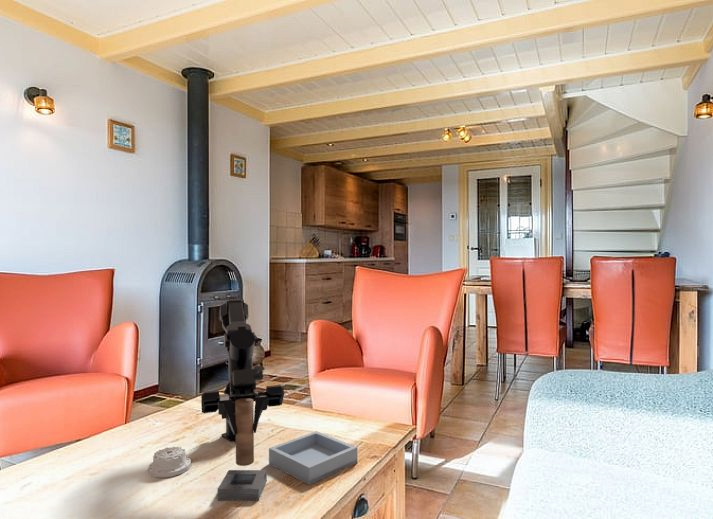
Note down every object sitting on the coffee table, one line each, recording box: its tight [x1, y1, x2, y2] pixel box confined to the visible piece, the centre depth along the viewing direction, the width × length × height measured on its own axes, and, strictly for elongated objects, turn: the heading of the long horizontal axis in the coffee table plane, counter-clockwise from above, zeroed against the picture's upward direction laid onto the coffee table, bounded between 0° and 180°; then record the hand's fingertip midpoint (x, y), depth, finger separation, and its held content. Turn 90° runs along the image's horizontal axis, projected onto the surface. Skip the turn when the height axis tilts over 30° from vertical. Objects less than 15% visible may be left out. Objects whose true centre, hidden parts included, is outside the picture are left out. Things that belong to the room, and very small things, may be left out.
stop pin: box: [235, 398, 255, 467], centre depth 108 cm, size 4×4×14 cm
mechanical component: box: [147, 446, 192, 479], centre depth 119 cm, size 10×4×10 cm
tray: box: [268, 430, 358, 486], centre depth 122 cm, size 16×16×4 cm
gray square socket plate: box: [217, 469, 268, 501], centre depth 108 cm, size 9×9×2 cm
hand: (245, 433), depth 107 cm, fingers closed on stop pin, 4 cm apart
